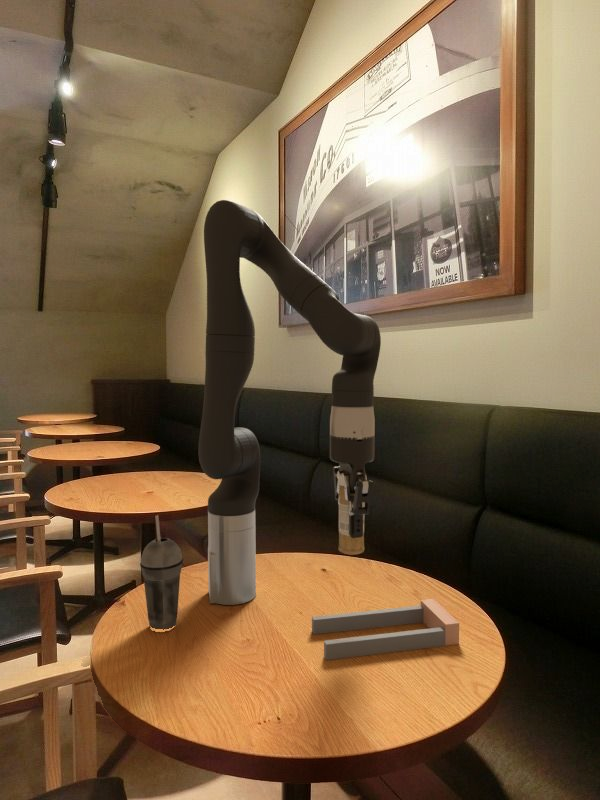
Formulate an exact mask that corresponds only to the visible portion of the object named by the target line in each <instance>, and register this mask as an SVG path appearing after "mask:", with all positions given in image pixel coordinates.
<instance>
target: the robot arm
mask: <svg viewBox="0 0 600 800" xmlns="http://www.w3.org/2000/svg"><path fill="white" fill-rule="evenodd" d="M272 229H273V228H271V227H270V226H269V224H268V223H267V222H266V220H265V219H264V218H263V217H262V215H260V214H259V213H258V212H257V211H255V210H254V209H251V208H248V207H247V206H243V205H241V204H239V203H236V202H235V201H230V200H227V199H221V200H217V201H216V202H215V203H214V202H213V204H212V205H211V206H210V207H209V209H208V211H207V214H206V215H205V220H204V226H203V245H204V257H205V258H204V259H205V260H204V261H205V271H206V273H205V274H206V326H205V327H206V328H205V352H204V353H205V354H204V355H205V371H204V372H205V373H204V394H203V405H202V406H203V407H202V415H201V422H200V430H199V438H198V450H197V451H198V453H197V454H198V460H199V464H200V467H201V469H202V471H203V473H204V474H205V475H206V476H207V477H208V478H210V479H213V480H220V483H219V485H218V487H217V488H216V489H215V490H214V491H213V492H212V493H211V494H210V495H209V496H208V499H207V525H208V526H207V532H208V535H207V536H208V545H207V564H208V565H207V567H208V569H207V573H208V577H207V578H208V579H207V580H208V583H207V584H208V598H209V604H219V605H222V606H223V605H224V606H235V605H237V606H238V605H241V604H245V603H247V602H250V601H252V600H253V599H254V598H255V597H256V595H257V562H256V560H257V559H256V558H257V557H256V551H257V549H256V547H257V546H256V544H257V543H256V500H257V498H258V496H259V492H260V479H261V478H260V477H261V476H260V475H261V450H260V449H261V447H260V444H259V441H258V438H257V437H256V435H255V434H254V432H253V431H251V430H250V429H249V428H246V427H241V426H240V427H239V426H238V427H235V418H236V408H237V404H238V400H239V397H240V396H241V394H242V391H243V388H244V387H245V385H246V382H247V381H248V378H249V376H250V374H251V371H252V368H253V365H254V360H255V346H256V345H255V343H256V341H255V340H256V329H255V322H254V319H253V318H254V317H253V314H252V312H251V309H250V307H249V304H248V302H247V299H246V296H245V294H244V291H243V286H242V282H241V281H242V280H241V273H240V272H241V271H240V270H241V269H240V266H241V262H240V261H241V258H242V259H244V260H247V261H248V262H250V263H252V264H253V265H255V266H256V267H258V268H259V269H261V270H262V271H263V272H264V273H265V274H266V275H267V276H269V278H270V279H271V281H272V282H273V284H274V286H275V288H276V290H277V292H278V293H279V295H280V296H281V297H282V298H283V300H285V302H286V303H287V304H288V306H290V307H291V308H292V309H294V311H295V312H297V313H298V314H299V315H300V316H301V317H303V319H305V320H306V321H307V322H308V324H309V325H310V327H311V328H312V329H313V331H314V332H315V334H316V335H317V336H318V338H319V339H320V341H322V343H323V344H324V345H325V346H326V347H327V348H329V349H330V351H332V352H333V353H336V354H338V355H340V356H342V361H341V367H340V370H338V371H337V372H335V374H334V375H333V377H332V381H331V411H330V416H329V459H330V460H331V461H332V462H335V463H338V466H333V468H332V473H333V487H334V498H335V501H337V503H338V504H337V505H338V506H339V484H338V476H339V474H340V473H345V474H342V482H343V484H344V485H345V486H344V490H345V500H346V501H347V502H348V503H349V514H350V515H349V535H350V536H351V537H352V538H358V537H362V536H363V515H364V516H365V515H369V514H370V510H371V509H370V508H371V502H372V496H373V490H374V489H373V488H374V483H373V480H368V479H367V472H366V468H365V465H366V464H367V463H372V462H373V461H375V436H376V435H375V428H376V427H375V423H376V420H375V412H374V392H375V391H374V390H375V388H374V379H375V374H376V372H377V367H378V362H379V358H380V353H381V344H382V343H381V340H382V339H381V332H380V328H379V325H378V324H377V322H376V320H375V319H373V318H372V317H370V316H369V315H364V314H360V313H354V312H353V311H351V310H350V309H349V308H348V307H346V306H345V305H344V304H343V303H342V302H341V301H340V297H339V294H338V293H337V292H336V291H335V289H333V288H332V287H331V286H330V285H329V284H328V283H327V282H325V281H324V280H323V279H322V278H321V277H320V276H318V274H317V273H315V272H314V270H311V268H310V267H308V266H307V265H306V264H305V263H304V262H302V261H301V260H300V259H299V258H298V257H297V256H295V255H294V253H293V252H292V251H290V250H289V248H288V247H287V246H286V245H285V244H284V243H283V242H282V241H281V240H280V238H279V237H278V236H277V234H276V233H275V232H274V231H273V230H272ZM350 493H351V494H355V496H351V495H350ZM353 502H354V504H353ZM359 503H360V507H359Z"/></svg>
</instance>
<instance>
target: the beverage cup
mask: <svg viewBox="0 0 600 800" xmlns="http://www.w3.org/2000/svg"><path fill="white" fill-rule="evenodd" d="M154 518H155V525H156V526H155V529H156V538H155V539H153V540H151V541H150V542H149V543H148V544H147V545H146V546H145V547H144V549H143V551H142V554H141V558H140V563H139V566H140V569H141V574H142V578H143V584H144V592H145V602H146V611H147V619H148V624H149V627H150V626H151V627H152V628H155V629H163V630H164V629H169V628H172V627H173V626H175V625H176V626H177V619H178V612H179V611H178V609H179V598H180V597H179V595H180V583H181V581H180V580H181V573H182V568H183V562H184V558H183V554H182V550H181V548H180V546H179V545H178V544H177V543H176V541H174V540H172V539H171V538H169V537H161V531H160V520H159V519H160V518H159V514H157V515H155V517H154Z"/></svg>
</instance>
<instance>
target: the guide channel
mask: <svg viewBox="0 0 600 800" xmlns="http://www.w3.org/2000/svg"><path fill="white" fill-rule="evenodd" d="M419 623H424V624H425V626H426V627H427V628H425V629H424V628H423V629H415V630H413V629H412V630H405V631H397V632H388V633H380V634H378V633H377V634H371V635H361V636H353V637H344V638H337V639H335V638H334V639H327V640H323V657H324V659H325V661H333V660H338V659H339V660H340V659H345V658H346V659H348V658H356V657H362V656H363V657H365V656H372V655H380V654H389V653H396V652H397V653H398V652H402V651H403V652H404V651H405V652H406V651H412V650H421V649H428V648H429V649H430V648H436V647H446V646H454V645H459V644H460V622H458V620H456V618H454V617H453V616H452V614H450V613H449V612H448V611H447V610H446V609H445V608H444V607H443V606H442V605H440V604H439V603H438V602H437V600H435V599H434V598H429V599H427V598H426V599H421V600H420V604H419V605H412V606H403V607H394V608H393V607H391V608H384V609H373V610H367V611H366V610H364V611H356V612H346V613H337V614H326V615H316V616H315V615H314V616H312V617H311V632H312V634H313V635H322V634H330V633H338V632H340V633H341V632H348V631H349V632H350V631H357V630H366V629H374V628H376V629H377V628H383V627H391V626H400V625H409V624H419Z"/></svg>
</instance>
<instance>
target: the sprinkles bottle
mask: <svg viewBox="0 0 600 800" xmlns="http://www.w3.org/2000/svg"><path fill="white" fill-rule="evenodd" d="M342 474H345V473H340V474H339V476H338V484H339V505H338V546H337V547H338V548H337V549H338V551H339V552H340V553H341V554H345V555H351V556H352V555H355V556H356V555H359V554H362V553H364V552H365V537H364V536H365V515H363V536H362V537H358V538H352V537H351V536H350V535H349V515H350V514H349V503H348V502H347V501H346V500H345V490H344V486H345V485H344V484H343V482H342ZM350 495H351V496H355V494H351V493H350ZM353 504H354V502H353ZM359 507H360V503H359Z"/></svg>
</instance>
